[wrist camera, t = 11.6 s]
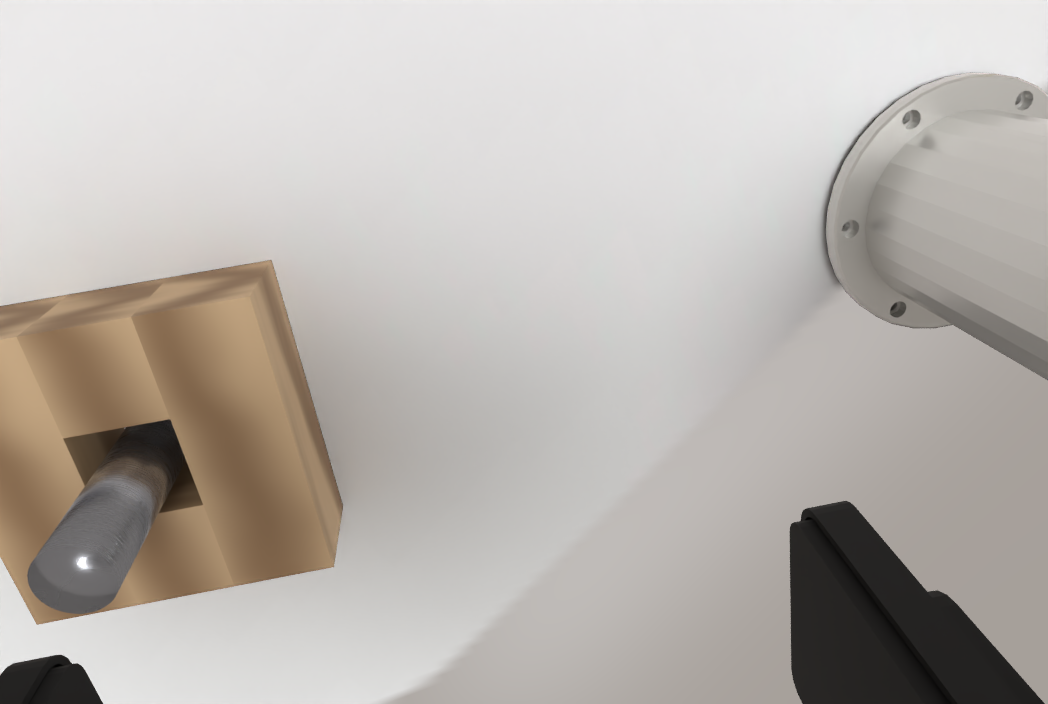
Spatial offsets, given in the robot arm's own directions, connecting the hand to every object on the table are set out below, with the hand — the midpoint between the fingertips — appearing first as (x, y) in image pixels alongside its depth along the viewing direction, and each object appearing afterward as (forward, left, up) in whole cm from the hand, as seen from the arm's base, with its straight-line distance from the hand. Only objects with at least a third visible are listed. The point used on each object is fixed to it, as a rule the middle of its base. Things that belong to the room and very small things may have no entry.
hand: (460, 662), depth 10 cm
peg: (+15, +9, -28) cm, 33 cm away
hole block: (+15, +9, -28) cm, 33 cm away
